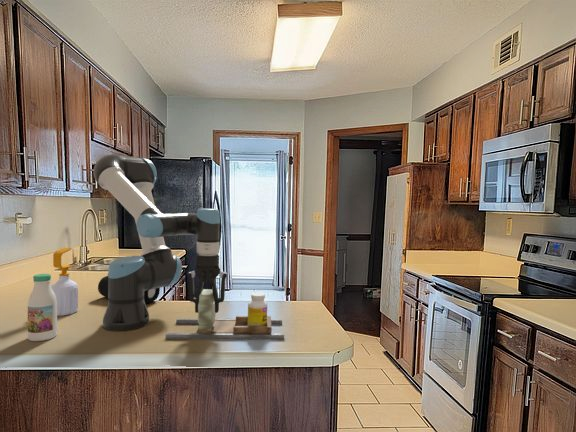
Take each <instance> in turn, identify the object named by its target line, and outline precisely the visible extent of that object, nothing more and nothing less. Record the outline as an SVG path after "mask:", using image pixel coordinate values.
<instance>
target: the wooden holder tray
mask: <svg viewBox="0 0 576 432" xmlns="http://www.w3.org/2000/svg"><path fill="white" fill-rule="evenodd" d="M213 302H215V301H214V296H213V291H212V288H211V289H210V288H209V289H208V288H206V289H205V288H202V292H201V294H200V295H199V324H198V327H197V328H198V329H197V330H196V332H195V333H259V334H272V324H271V319H272V316H271V315H267V326H248V315H236V316H235V319H236V321H215V323H212V308H213Z"/></svg>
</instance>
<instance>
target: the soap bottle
mask: <svg viewBox="0 0 576 432" xmlns="http://www.w3.org/2000/svg"><path fill="white" fill-rule="evenodd" d="M69 251H71V248H70V247H63V248H60V249H58V250H56V251H55V252H54V253H53V257H52V260H53V261H52V263H53V265H52V266H53V267H54V268H57V269H59V271H61V273H59V274H58V280H57V281H56V282H54V283H53V284H51V288H52V290H53V292H54V293H55V296H56V300H57V317H59V316H61V317H62V316H63V317H64V316H68V315H69V316H70V315H73V314H76V312H78V311H79V286H78V283H77V282H75V281H74V280H72V279H70V273H69V272H67V271H69V268H73V265H69V264H64V265H62V256H63V254H65V253H67V252H69Z"/></svg>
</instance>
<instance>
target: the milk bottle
mask: <svg viewBox="0 0 576 432" xmlns="http://www.w3.org/2000/svg"><path fill="white" fill-rule="evenodd" d="M32 277H33V283H34V284H33V285H34V286H33V287H32V292H31V293H30V294H29V298H28V301H27V339H28V341H29V342H30V341H31V342H43V341H47V340H51V339H53V338H55V337H56V336H57V335H58V316H57V300H56V296H55V293H54V292H53V290H52V288H51V286H52V284H51V281H52V275H51V274H50V273H38V274H35V275H33V276H32Z"/></svg>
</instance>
